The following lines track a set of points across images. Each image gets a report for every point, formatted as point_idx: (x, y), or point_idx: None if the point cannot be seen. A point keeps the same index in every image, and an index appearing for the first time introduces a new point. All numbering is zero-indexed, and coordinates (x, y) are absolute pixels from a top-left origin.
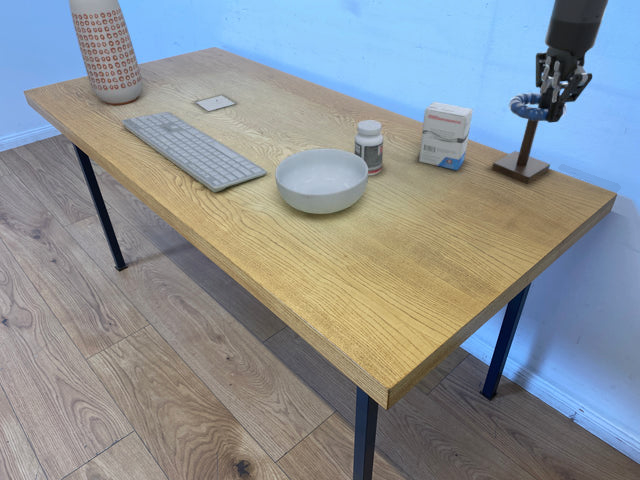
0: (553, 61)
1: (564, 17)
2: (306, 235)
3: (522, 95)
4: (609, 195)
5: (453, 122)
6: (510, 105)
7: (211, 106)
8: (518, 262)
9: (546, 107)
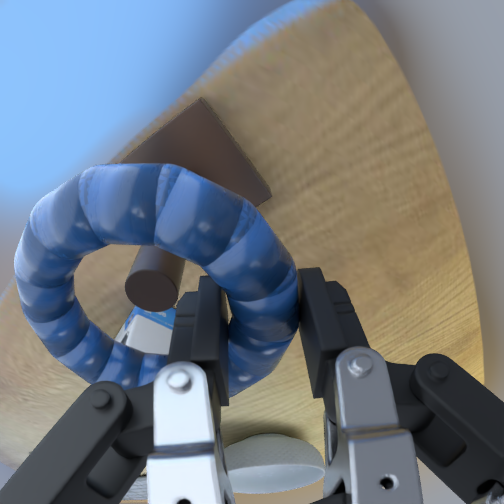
0: None
1: None
2: (323, 445)
3: (72, 359)
4: (361, 10)
5: None
6: None
7: None
8: (464, 296)
9: (224, 324)
